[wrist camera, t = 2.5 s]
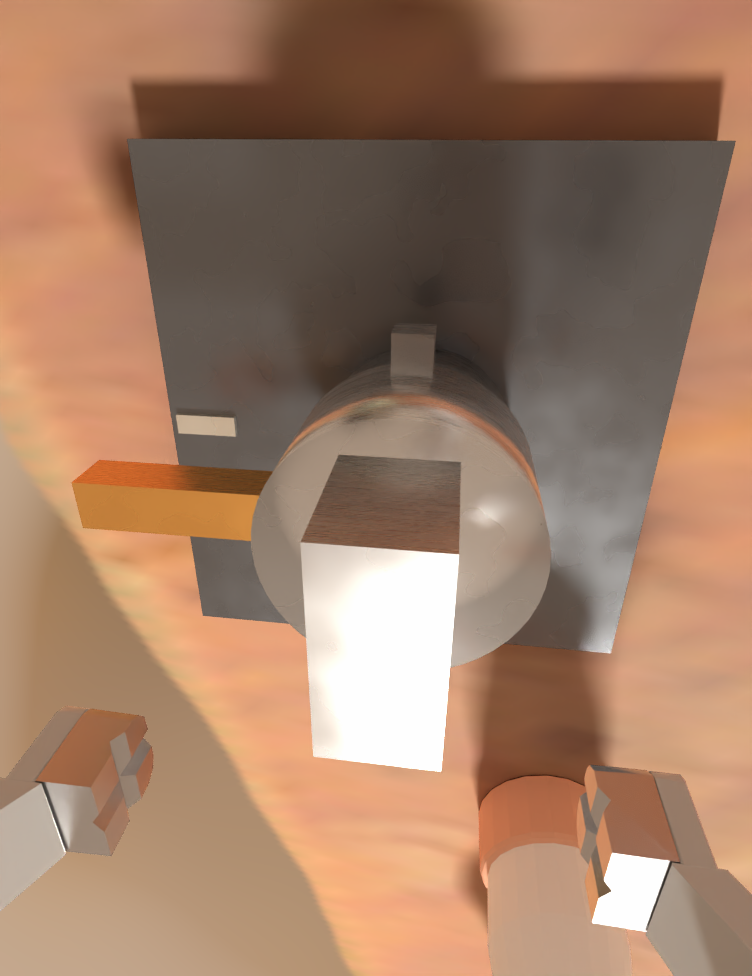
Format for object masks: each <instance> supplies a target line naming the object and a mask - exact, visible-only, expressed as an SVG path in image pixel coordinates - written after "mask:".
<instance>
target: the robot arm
mask: <svg viewBox="0 0 752 976" xmlns="http://www.w3.org/2000/svg"><path fill="white" fill-rule="evenodd" d="M147 730H148V728H147V725H146V722H145V717H144V716H139V715H132V714H125V713H118V712H110V711H104V710H97V709H88V708H80V707H73V706H65V707H63V708H62V709H60V710H59V711H57V712H56V714H55V715H54V716H53V717H52V719H51V720H50V721H49V723H48V724H47V725H46V727H45V728H44V729H43V730H42V732H41V733H40V734H39V736H38V737H37V738H36V740H35V741H34V742H33V744H32V745H31V746H30V748H29V749H28V750H27V751H26V753H25V754H24V755H23V757H22V758H21V759H20V760H19V762H18V763H17V764H16V766H15V767H14V768H13V770H12V771H11V772H10V773H9V775H8V776H7V777H6V778H0V911H1V910H2V909H3V908H4V907H5V906H7V905H8V904H9V903H10V902H11V901H12V900H13V899H15V898H16V897H17V896H18V895H19V894H21V893H22V892H23V891H24V890H25V889H26V888H27V887H29V886H30V885H31V884H32V883H33V882H34V881H35V880H37V879H38V878H39V877H40V876H41V875H43V874H44V873H45V872H46V871H47V870H48V869H49V868H50V867H52V866H53V865H54V864H55V863H56V862H57V861H59V860H60V859H61V858H62V857H63V856H64V855H66V852H65V851H69V852H78V853H87V854H98V855H106V856H112V854H113V852H114V850H115V848H116V846H117V844H118V842H119V840H120V839H121V837H122V835H123V833H124V831H125V829H126V827H127V825H128V823H129V821H130V820H129V815H128V808H129V807H131V806H132V805H133V804H135V803H136V802H137V801H139V800H140V799H141V798H142V796H143V794H144V792H145V790H146V788H147V786H148V784H149V780H150V777H151V773H152V769H153V751H152V747H151V745H150V744H149V743H148V742H147V741H146V740H145V739H144V738H143V737H144V735H145V733H146V731H147ZM584 781H585V787H586V792H585V793H584V794H582V795H581V796H580V798H579V803H578V808H577V836H578V844H579V850H580V855H581V856H582V857H583V859H584V860H585V861H586V862H587V864H588V865H589V866H588V870H587V874H586V878H585V886H586V891H587V897H588V903H589V908H590V914H591V920H592V923H597V924H603V925H609V926H615V927H621V928H627V929H633V930H638V931H644V932H646V936H647V937H648V939H649V940H650V942H651V943H652V945H653V946H654V948H655V949H656V950H657V952H658V953H659V955H660V956H661V958H662V959H663V961H664V962H665V964H666V965H667V966H668V968H669V969H670V971H671V972H672V974H673V975H674V976H752V894H751V893H750V892H749V891H748V890H747V889H746V888H745V887H744V886H743V885H742V884H741V883H740V882H739V881H738V880H737V879H736V878H735V877H734V876H733V875H732V874H731V873H730V872H729V871H728V870H724V869H718V867H717V865H716V862H715V859H714V857H713V854H712V851H711V849H710V846H709V843H708V841H707V838H706V835H705V833H704V830H703V827H702V824H701V822H700V819H699V816H698V814H697V811H696V808H695V806H694V803H693V800H692V798H691V795H690V792H689V790H688V787H687V784H686V781H685V780H684V778H683V777H682V776H681V775H679V774H670V773H661V772H652V771H649V772H648V771H647V770H638V769H628V768H618V767H608V766H597V765H589V766H588V768H587V769H586V773H585V777H584Z"/></svg>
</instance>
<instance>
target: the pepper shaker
mask: <svg viewBox="0 0 752 976" xmlns="http://www.w3.org/2000/svg"><path fill="white" fill-rule="evenodd" d="M585 792H586V787H585V786H583V785H580V784H578V783H576V782H573V781H571V780H568V779H564V778H558V777H552V776H525V777H521V778H517V779H513V780H509V781H506V782H504V783H503V784H501V785H499V786H497V787H496V788H494V789H492V790H491V791H490V792H489V793H488V795H487V796H486V797H485V798H484V799H483V800H482V803H481V807H480V810H479V852H480V872H481V876H482V880H483V883H484V885H485V887H486V888H487V889H488V951H489V957H490V963H491V969H492V975H493V976H632V962H631V949H630V944H629V940H628V936H627V932H626V928H621V927H615V926H609V925H603V924H597V923H592V920H591V914H590V908H589V903H588V897H587V891H586V886H585V878H586V874H587V870H588V866H589V865H588V864H587V862H586V861H585V860H584V859H583V857H582V856H581V855H580V850H579V844H578V836H577V808H578V803H579V798H580V796H581V795H582V794H584V793H585Z"/></svg>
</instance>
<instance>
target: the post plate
mask: <svg viewBox="0 0 752 976" xmlns="http://www.w3.org/2000/svg"><path fill="white" fill-rule="evenodd" d="M127 141H128V147H129V154H130V160H131V166H132V173H133V179H134V185H135V191H136V198H137V204H138V210H139V217H140V223H141V229H142V235H143V242H144V248H145V254H146V261H147V267H148V273H149V279H150V286H151V292H152V298H153V305H154V311H155V317H156V323H157V330H158V336H159V342H160V349H161V355H162V361H163V367H164V374H165V380H166V386H167V393H168V399H169V405H170V411H171V418H172V424H173V430H174V437H175V443H176V449H177V455H178V462H179V465H184V466H200V467H215V468H231V469H246V470H261V471H274V469H275V468H276V466H277V465H278V463H279V461H280V460H281V458H282V457H283V455H284V453H285V452H286V450H287V448H288V447H289V445H290V444H291V442H292V440H293V439H294V437H295V436H296V434H297V432H298V431H299V429H300V428H301V426H302V424H303V423H304V421H305V420H306V418H307V417H308V415H309V414H310V412H311V411H312V409H313V408H314V406H315V405H316V404H317V403H318V402H319V401H320V400H321V399H322V398H323V396H324V395H325V394H327V393H328V392H329V391H330V390H332V389H333V388H334V387H335V386H336V385H338V384H340V383H341V382H343V381H344V380H346V379H348V378H349V377H351V376H354V375H356V374H358V373H360V372H363V371H365V370H369V369H372V368H375V367H379V366H384V365H390V364H391V333H392V330H393V328H394V326H395V324H396V323H404V324H431V325H437V327H436V346H435V366H439V367H443V368H447V369H450V370H453V371H456V372H458V373H461V374H463V375H466V376H468V377H469V378H471V379H473V380H475V381H477V382H479V383H480V384H482V385H483V386H485V387H486V388H487V389H489V390H490V391H491V392H493V393H494V394H495V395H496V396H497V397H498V398H499V399H500V400H501V401H502V402H503V403H505V404H506V406H507V407H508V408H509V409H510V411H511V412H512V413H513V415H514V416H515V417H516V419H517V421H518V422H519V424H520V426H521V427H522V429H523V431H524V433H525V436H526V438H527V441H528V443H529V447H530V451H531V455H532V459H533V464H534V468H535V473H536V478H537V482H538V487H539V491H540V496H541V500H542V505H543V509H544V514H545V519H546V523H547V528H548V532H549V537H550V547H551V562H550V573H549V577H548V581H547V585H546V589H545V591H544V593H543V596H542V598H541V600H540V603H539V604H538V606H537V608H536V609H535V611H534V612H533V614H532V616H531V617H530V618H529V620H528V621H527V622H526V623H525V624H524V626H523V627H522V628H521V629H520V630H519V631H518V632H517V633H516V634H515V635H514V636H513V637H511V638H510V639H509V640H508V641H507V642H505V643H504V644H514V645H525V646H536V647H546V648H557V649H568V650H579V651H589V652H600V653H611V650H612V646H613V642H614V638H615V634H616V630H617V626H618V622H619V618H620V614H621V609H622V605H623V601H624V597H625V593H626V589H627V585H628V581H629V577H630V573H631V568H632V564H633V560H634V556H635V552H636V548H637V544H638V540H639V536H640V532H641V527H642V523H643V519H644V515H645V511H646V507H647V503H648V499H649V495H650V490H651V486H652V482H653V478H654V474H655V470H656V466H657V462H658V458H659V454H660V449H661V445H662V441H663V437H664V433H665V429H666V425H667V421H668V417H669V413H670V408H671V404H672V400H673V396H674V392H675V388H676V384H677V380H678V376H679V371H680V367H681V363H682V359H683V355H684V351H685V347H686V343H687V339H688V335H689V330H690V326H691V322H692V318H693V314H694V310H695V306H696V302H697V298H698V294H699V289H700V285H701V281H702V277H703V273H704V269H705V265H706V261H707V257H708V253H709V248H710V244H711V240H712V236H713V232H714V228H715V224H716V220H717V216H718V211H719V207H720V203H721V199H722V195H723V191H724V187H725V183H726V179H727V175H728V170H729V166H730V162H731V158H732V154H733V150H734V146H735V142H736V141H624V140H327V139H127ZM190 537H191V543H192V550H193V556H194V562H195V569H196V575H197V581H198V587H199V594H200V600H201V606H202V613H203V616H212V617H223V618H234V619H245V620H255V621H266V622H277V623H288V622H287V621H286V620H285V619H284V617H283V616H282V615H281V614H280V613H279V612H278V610H277V609H276V608H275V607H274V605H273V603H272V602H271V600H270V599H269V597H268V596H267V594H266V592H265V590H264V588H263V586H262V584H261V582H260V580H259V577H258V574H257V571H256V568H255V565H254V561H253V555H252V550H251V541H245V540H232V539H219V538H206V537H193V536H190ZM288 624H289V623H288Z"/></svg>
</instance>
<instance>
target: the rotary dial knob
mask: <svg viewBox="0 0 752 976" xmlns="http://www.w3.org/2000/svg"><path fill="white" fill-rule="evenodd" d="M436 327H437V325H431V324H404V323H396V324H395V326H394V328H393V330H392V333H391V364H390V365H384V366H379V367H375V368H372V369H369V370H365V371H363V372H360V373H358V374H356V375H354V376H351V377H349V378H348V379H346V380H344V381H343V382H341V383H340V384H338V385H336V386H335V387H334V388H333V389H332V390H330V391H329V392H328V393H327V394H325V395H324V396H323V398H322V399H321V400H320V401H319V402H318V403H317V404H316V405H315V406H314V408H313V409H312V411H311V412H310V414H309V415H308V417H307V418H306V420H305V421H304V423H303V424H302V426H301V428H300V429H299V431H298V432H297V434H296V436H295V437H294V439H293V440H292V442H291V444H290V445H289V447H288V448H287V450H286V452H285V453H284V455H283V457H282V458H281V460H280V461H279V463H278V465H277V466H276V468H275V469H274V471H261V470H246V469H231V468H215V467H200V466H184V465H169V464H153V463H138V462H123V461H107V460H99V461H97V462H96V463H95V464H94V465H93V466H91V467H90V468H89V469H88V470H86V471H85V472H84V473H83V474H81V475H80V476H79V477H78V478H77V479H75V480H74V481H73V482H72V486H73V490H74V494H75V498H76V502H77V506H78V510H79V514H80V518H81V522H82V526H83V528H91V529H104V530H116V531H129V532H142V533H155V534H168V535H181V536H193V537H206V538H219V539H232V540H245V541H251V550H252V555H253V561H254V565H255V568H256V571H257V574H258V577H259V580H260V582H261V584H262V586H263V588H264V590H265V592H266V594H267V596H268V597H269V599H270V600H271V602H272V603H273V605H274V607H275V608H276V609H277V610H278V612H279V613H280V614H281V615H282V616H283V617H284V619H285V620H286V621H287V622H288V623H289V624H290V625H291V626H292V627H293V628H295V629H296V630H297V631H298V632H299V633H300V634H302V635H303V636H304V637H306V643H307V660H308V676H309V693H310V709H311V726H312V742H313V757H322V758H331V759H339V760H348V761H356V762H365V763H373V764H382V765H390V766H399V767H408V768H416V769H425V770H433V771H441V766H442V754H443V742H444V730H445V718H446V706H447V694H448V682H449V670H450V668H451V667H455V666H459V665H463V664H465V663H468V662H470V661H473V660H476V659H478V658H480V657H482V656H484V655H486V654H488V653H490V652H492V651H494V650H495V649H497V648H498V647H500V646H501V645H502V644H504V643H505V642H507V641H508V640H509V639H510V638H511V637H513V636H514V635H515V634H516V633H517V632H518V631H519V630H520V629H521V628H522V627H523V626H524V624H525V623H526V622H527V621H528V620H529V618H530V617H531V616H532V614H533V612H534V611H535V609H536V608H537V606H538V604H539V603H540V600H541V598H542V596H543V593H544V591H545V589H546V585H547V581H548V577H549V573H550V562H551V547H550V537H549V532H548V528H547V523H546V519H545V514H544V509H543V505H542V500H541V496H540V491H539V487H538V482H537V478H536V473H535V468H534V464H533V459H532V455H531V451H530V447H529V443H528V441H527V438H526V436H525V433H524V431H523V429H522V427H521V426H520V424H519V422H518V421H517V419H516V417H515V416H514V415H513V413H512V412H511V411H510V409H509V408H508V407H507V406H506V404H505V403H503V402H502V401H501V400H500V399H499V398H498V397H497V396H496V395H495V394H494V393H493V392H491V391H490V390H489V389H487V388H486V387H485V386H483V385H482V384H480V383H479V382H477V381H475V380H473V379H471V378H469V377H468V376H466V375H463V374H461V373H458V372H456V371H453V370H450V369H447V368H443V367H439V366H435V346H436Z"/></svg>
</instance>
